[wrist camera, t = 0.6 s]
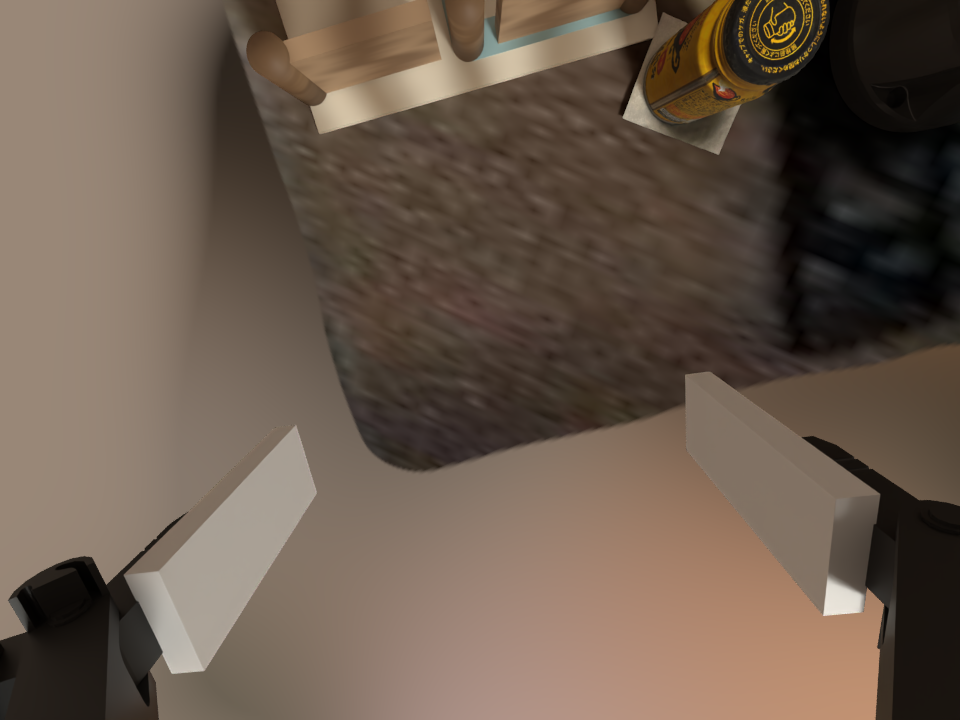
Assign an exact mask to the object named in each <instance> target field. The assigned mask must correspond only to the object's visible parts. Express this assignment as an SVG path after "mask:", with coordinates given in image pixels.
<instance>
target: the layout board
mask: <svg viewBox="0 0 960 720" xmlns="http://www.w3.org/2000/svg"><path fill="white" fill-rule="evenodd" d="M412 1H415V0H276V3H277V6H278V9H279V12H280V15H281V18H282V22H283V25H284V28H285V31H286V34H287V37H288V39H291V38H294V37H297V36H301V35H304V34H307V33H310V32H314V31H317V30H320V29H323V28H327V27H330V26H333V25H337V24H340V23H343V22H346V21H350V20H353V19H356V18H359V17H363V16H366V15H369V14H372V13H376V12H379V11H382V10H385V9H389V8H392V7H395V6H398V5H402V4H405V3H408V2H412ZM427 2H428V6H429V10H430V14H431V18H432V22H433V26H434V30H435V34H436V38H437V42H438V47H439V51H440V55H441V59H442V60H438V61H435V62H431V63H428V64H425V65H421V66H418V67H414V68H411V69H408V70H404V71H401V72H398V73H394V74H391V75H387V76H384V77H381V78H377V79H374V80H370V81H367V82H364V83H360V84H357V85H353V86H350V87H347V88H343V89H340V90H336V91H333V92H330V93H327V95H326V98H325V100H324V101H323V102H322V103H321V104H319V105H317V106H310V107H311V110H312V113H313V116H314V119H315V122H316V126H317V129H318V132H319V134H323V133H327V132H330V131H334V130H337V129H341V128H344V127H348V126H351V125H355V124H358V123H362V122H365V121H369V120H372V119H376V118H379V117H382V116H386V115H389V114H393V113H396V112H400V111H403V110H407V109H410V108H414V107H417V106H421V105H424V104H428V103H431V102H435V101H438V100H442V99H445V98H449V97H452V96H455V95H459V94H462V93H466V92H469V91H473V90H476V89H480V88H483V87H487V86H490V85H494V84H497V83H501V82H504V81H508V80H511V79H515V78H518V77H522V76H525V75H528V74H532V73H535V72H539V71H542V70H546V69H549V68H553V67H556V66H560V65H563V64H567V63H570V62H574V61H577V60H581V59H584V58H588V57H591V56H594V55H598V54H601V53H605V52H608V51H612V50H615V49H619V48H622V47H626V46H629V45H633V44H636V43H640V42H643V41H647V40H650V39H653V37H654V34H655V31H656V29H657V27H658V19H657V10H656V2H655V0H649V1H648V2H647V4H646V5H645V6H644V8H643V9H642V10H641V11H639V12H638V13H635V14H627V13H624V12H623V11H622V10H621V9H620V8H619V9H615V10H612V11H608V12H605V13H602V14H598V15H595V16H591V17H588V18H585V19H581V20H578V21H575V22H571V23H568V24H564V25H561V26H558V27H554V28H551V29H547V30H544V31H541V32H537V33H534V34H530V35H527V36H524V37H520V38H517V39H513V40H510V41H507V42H503V43H500V44H498V40H497V35H496V30H495V13H496V0H485V13H484V47H483V51H482V53H481V55H480V56H479V57H478V58H477V59H476V60H474V61H472V62H464V61H462V60H460V59H459V58H458V57H457V56H456V55H455V53H454V51H453V48H452V42H451V36H450V30H449V24H448V18H447V12H446V6H445V0H427Z"/></svg>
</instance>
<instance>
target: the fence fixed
mask: <svg viewBox="0 0 960 720" xmlns="http://www.w3.org/2000/svg"><path fill="white" fill-rule="evenodd" d="M648 1H649V0H496V13H495V30H496V35H497V40H498V44H500V43H503V42H507V41H510V40H513V39H517V38H520V37H524V36H527V35H530V34H534V33H537V32H541V31H544V30H547V29H551V28H554V27H558V26H561V25H564V24H568V23H571V22H575V21H578V20H581V19H585V18H588V17H591V16H595V15H598V14H602V13H605V12H608V11H612V10H615V9H619V8H620V9H621V10H622V11H623V12H624V13H627V14H635V13H638V12H639V11H641V10H642V9H643V8H644V6H645V5H646V4H647V2H648ZM445 6H446V12H447V18H448V24H449V30H450V36H451V42H452V48H453V51H454V53H455V55H456V56H457V57H458V58H459V59H460V60H462V61H464V62H472V61H474V60H476V59H477V58H478V57H479V56H480V55H481V53H482V51H483V47H484V13H485V0H445Z"/></svg>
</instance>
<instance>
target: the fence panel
mask: <svg viewBox="0 0 960 720" xmlns="http://www.w3.org/2000/svg"><path fill="white" fill-rule="evenodd" d="M246 52H247V58H248V61H249V63H250V65H251V66H252V68H253V69H254V70H255V71H256V72H257V73H259V74H260V75H262V76H263V77H265V78H266V79H268V80H269V81H271V82H272V83H274V84H276V85H277V86H279V87H280V88H282V89H283V90H285V91H286V92H288V93H289V94H291V95H292V96H294V97H295V98H297V99H299V100H300V101H302V102H303V103H305V104H306V105H309V106H317V105H319V104H321V103H322V102H323V101H324V100H325V98H326V95H327V93H330V92H333V91H336V90H340V89H343V88H347V87H350V86H353V85H357V84H360V83H364V82H367V81H370V80H374V79H377V78H381V77H384V76H387V75H391V74H394V73H398V72H401V71H404V70H408V69H411V68H414V67H418V66H421V65H425V64H428V63H431V62H435V61H438V60H442V59H441V55H440V51H439V47H438V42H437V38H436V34H435V30H434V26H433V22H432V18H431V14H430V10H429V6H428V2H427V0H415V1H412V2H408V3H405V4H402V5H398V6H395V7H392V8H389V9H385V10H382V11H379V12H376V13H372V14H369V15H366V16H363V17H359V18H356V19H353V20H350V21H346V22H343V23H340V24H337V25H333V26H330V27H327V28H323V29H320V30H317V31H314V32H310V33H307V34H304V35H301V36H297V37H294V38H291V39H288V40H284V41H282V40H281V39H279V38H278V37H277V36H276V35H275V34H273V33H271V32H268V31H259V32H256V33H255V34H253V35H252V36H251V37H250V39H249V41H248V44H247V50H246Z"/></svg>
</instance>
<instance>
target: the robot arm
mask: <svg viewBox="0 0 960 720" xmlns="http://www.w3.org/2000/svg"><path fill="white" fill-rule="evenodd" d="M829 52H830V64H831V69H832V74H833V78H834V81H835V84H836V87H837V89H838V91H839V93H840V95H841V97H842V99H843V100H844V102H845V103H846V104H847V106H848V107H849V108H850V109H851V110H852V112H854V113H855V114H856V115H857V116H858V117H859V118H860V119H862V120H863V121H865V122H866V123H868V124H870V125H872V126H874V127H877V128H879V129H883V130H886V131H891V132H904V133H907V132H918V131H924V130H929V129H934V128H939V127H944V126H948V125H952V124H956V123H959V122H960V0H838V1H837V4H836V7H835V11H834V14H833V19H832V24H831V31H830V43H829ZM685 382H686V450H687V451H688V453H689V454H690V455H691V456H692V457H693V458H694V460H695V461H696V462H697V464H698V465H699V466H700V467H701V468H702V470H703V471H704V472H705V473H706V474H707V476H708V477H709V478H710V479H711V480H712V482H713V483H714V484H715V485H716V486H717V488H718V489H719V490H720V491H721V492H722V494H723V495H724V496H725V497H726V499H727V500H728V501H729V502H730V503H731V505H732V506H733V507H734V508H735V509H736V510H737V512H738V513H739V514H740V515H741V516H742V518H743V519H744V520H745V522H746V523H747V524H748V525H749V526H750V527H751V529H752V530H753V531H754V532H755V534H756V535H757V536H758V537H759V538H760V540H761V541H762V542H763V543H764V544H765V546H766V547H767V548H768V549H769V551H770V552H771V553H772V554H773V555H774V557H775V558H776V559H777V560H778V561H779V563H780V564H781V565H782V566H783V567H784V569H785V570H786V571H787V572H788V573H789V575H790V576H791V577H792V578H793V580H794V581H795V582H796V583H797V584H798V586H799V587H800V588H801V589H802V590H803V592H804V593H805V594H806V595H807V597H808V598H809V599H810V600H811V601H812V603H813V604H814V605H815V606H816V607H817V609H818V610H819V611H820V612H821V613H822V615H823V616H825V615H837V614H848V613H859V612H864V605H865V598H866V591H867V588H868V589H869V590H870V591H871V592H872V593H873V594H874V595H875V596H876V597H877V598H878V599H879V600H881V602H882V603H884V609H883V615H882V622H881V628H880V634H879V640H878V646H877V648H878V649H880V658H879V674H878V689H877V705H876V720H960V506H957V505H954V504H950V503H946V502H939V501H931V500H918V499H916V498H915V497H913V496H912V495H910V494H909V493H907V492H906V491H904V490H903V489H901V488H900V487H898V486H897V485H895V484H894V483H892V482H891V481H889V480H888V479H886V478H885V477H883V476H882V475H880V474H879V473H877V472H876V471H874V470H873V469H869V467H868V466H867V465H865V464H864V463H862V462H861V461H859V460H858V459H854V457H853V456H852V455H850V454H849V453H847V452H846V451H844V450H843V449H841V448H840V447H839V446H837V445H835V444H832V443H830V442H827V441H824V440H822V439H819V438H817V437H814V436H810V437H800V436H799V435H797V434H796V433H794V432H793V431H791V430H790V429H789V428H787V427H786V426H785V425H783V424H782V423H780V422H779V421H777V420H776V419H775V418H774V417H772V416H771V415H769V414H768V413H766V412H765V411H764V410H762V409H761V408H760V407H758V406H757V405H755V404H754V403H752V402H751V401H750V400H748V399H747V398H746V397H744V396H743V395H742V394H740V393H739V392H737V391H736V390H735V389H733V388H732V387H730V386H729V385H728V384H726V383H725V382H723V381H722V380H721V379H719V378H718V377H716V376H715V375H714V374H712V373H711V372H703V373H695V374H687V375H685ZM316 493H317V492H316V489H315V485H314V482H313V479H312V476H311V472H310V469H309V466H308V462H307V460H306V456H305V453H304V449H303V446H302V443H301V440H300V436H299V433H298V430H297V427H296V425H291V426H283V427H275V428H274V429H273V430H272V431H271V432H270V433H269V434H268V435H267V436H266V437H265V438H264V439H263V440H262V441H261V442H260V443H258V444H257V445H256V446H255V447H254V448H253V449H252V450H251V451H250V452H249V453H248V454H247V455H246V456H245V457H244V458H243V459H242V460H241V461H240V462H239V463H238V464H237V465H236V466H235V467H234V468H233V469H232V470H231V471H230V472H229V473H228V474H227V475H226V476H225V477H224V478H223V479H221V481H219V482H218V484H216V485H215V486H214V487H213V488H212V489H211V490H210V491H209V492H208V493H207V494H206V495H205V496H204V497H203V498H202V499H201V500H200V501H199V502H198V503H197V504H196V505H195V506H194V507H193V508H192V509H191V510H190V511H189V512H187V513H185V514H184V515H182V516H181V517H179V518H178V519H176V520H175V521H173V522H172V523H171V524H170V525H169V526H167V527H166V528H165V529H164V530H163V531H162V532H161V533H160V534H159V535H158V536H157V539H154V540H153V541H152V542H151V543H150V544H149V545H148V546H147V547H146V548H145V551H142V552H140V553H139V554H138V555H137V556H136V557H135V558H134V559H133V560H132V561H131V562H130V563H129V564H128V565H127V566H126V567H125V568H124V569H123V570H121V571H120V572H119V573H118V574H117V575H116V576H115V577H114V578H113V579H112V580H111V581H110V582H109V583H108V584H107V585H106V584H105V582H104V580H103V578H102V576H101V574H100V572H99V570H98V568H97V566H96V564H95V562H94V560H93V559H92V557H85V556H84V557H78V558H72V559H69V560H66V561H64V562H61V563H58V564H56V565H54V566H52V567H50V568H48V569H46V570H44V571H42V572H40V573H38V574H37V575H35V576H34V577H32V578H31V579H29V580H27V581H26V582H25V583H24V584H22V585H21V586H20V587H19V588H18V589H16V590H15V591H14V593H13V594H12V595H11V597H10V598H9V600H8V601H9V603H10V605H11V606H12V608H13V609H14V611H15V613H16V615H17V616H18V618H19V620H20V621H21V623H22V625H23V626H24V628H25V630H26V631H27V632H25V633H23V634H19V635H16V636H13V637H10V638H7V639H4V640H1V641H0V720H159V718H158V705H157V693H156V682H155V680H154V678H153V676H152V674H151V672H150V669H151V668H152V666H153V665H154V664H155V662H156V661H157V660H158V658H159V657H160V655H161V654H162V655H163V657H164V659H165V660H166V663H167V665H168V667H169V669H170V671H171V673H172V674H174V673H186V672H197V671H205V669H206V667H207V666H208V664H209V663H210V661H211V660H212V658H213V656H214V655H215V653H216V652H217V650H218V648H219V647H220V645H221V644H222V642H223V641H224V639H225V637H226V636H227V634H228V633H229V631H230V630H231V628H232V626H233V625H234V623H235V622H236V620H237V618H238V617H239V615H240V614H241V612H242V611H243V609H244V607H245V606H246V604H247V603H248V601H249V599H250V598H251V596H252V595H253V593H254V592H255V590H256V588H257V587H258V585H259V584H260V582H261V581H262V579H263V577H264V576H265V574H266V573H267V571H268V569H269V568H270V566H271V565H272V563H273V562H274V560H275V558H276V557H277V555H278V554H279V552H280V550H281V549H282V547H283V546H284V544H285V543H286V541H287V539H288V538H289V536H290V535H291V533H292V532H293V530H294V528H295V527H296V525H297V524H298V522H299V520H300V519H301V517H302V516H303V514H304V512H305V511H306V509H307V508H308V506H309V504H310V503H311V501H312V500H313V498H314V497H315V495H316Z"/></svg>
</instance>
